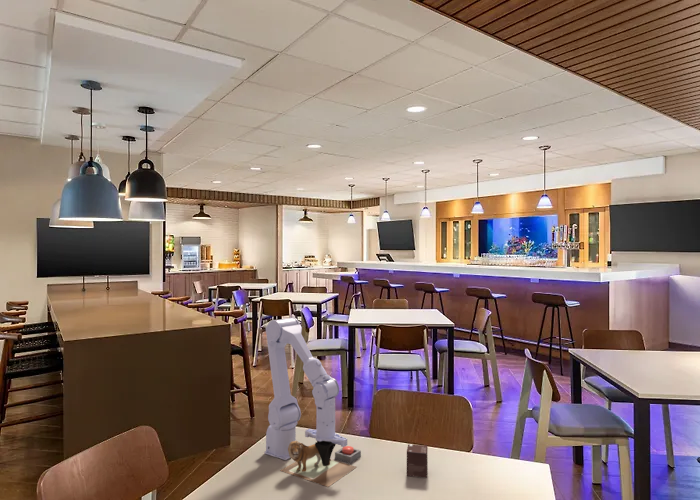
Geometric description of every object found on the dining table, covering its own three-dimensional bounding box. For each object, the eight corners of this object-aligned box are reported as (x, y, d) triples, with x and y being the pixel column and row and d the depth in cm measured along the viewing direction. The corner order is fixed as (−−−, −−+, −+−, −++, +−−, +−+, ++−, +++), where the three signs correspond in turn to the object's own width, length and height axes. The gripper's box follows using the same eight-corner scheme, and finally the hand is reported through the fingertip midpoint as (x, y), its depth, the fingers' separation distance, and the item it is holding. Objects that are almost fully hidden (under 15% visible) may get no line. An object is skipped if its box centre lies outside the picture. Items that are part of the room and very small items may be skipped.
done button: (340, 453, 153) (340, 449, 153) (346, 449, 156) (346, 445, 156) (349, 456, 151) (349, 451, 151) (355, 452, 154) (355, 447, 154)
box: (426, 478, 140) (426, 453, 140) (406, 476, 141) (406, 451, 141) (427, 469, 146) (427, 445, 146) (407, 467, 147) (408, 443, 147)
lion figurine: (295, 476, 139) (292, 443, 140) (285, 472, 143) (283, 441, 144) (335, 463, 148) (333, 433, 149) (326, 460, 152) (323, 431, 153)
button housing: (334, 458, 153) (334, 452, 153) (345, 452, 158) (345, 446, 158) (350, 463, 150) (350, 457, 150) (360, 456, 155) (360, 450, 155)
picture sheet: (280, 470, 145) (280, 470, 145) (310, 453, 157) (310, 453, 157) (328, 487, 135) (328, 486, 135) (356, 467, 147) (356, 466, 147)
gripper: (298, 419, 146) (298, 463, 146) (337, 428, 138) (337, 476, 138) (313, 412, 152) (313, 455, 152) (351, 421, 144) (351, 466, 144)
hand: (325, 464), depth 145 cm, fingers closed
